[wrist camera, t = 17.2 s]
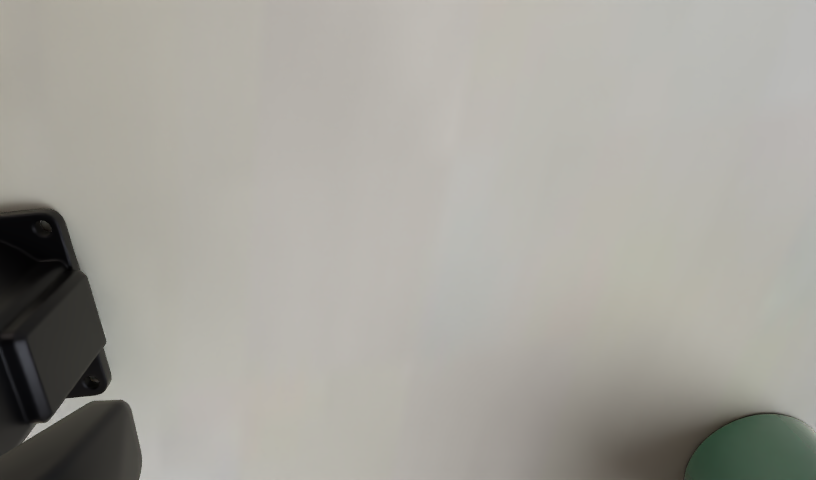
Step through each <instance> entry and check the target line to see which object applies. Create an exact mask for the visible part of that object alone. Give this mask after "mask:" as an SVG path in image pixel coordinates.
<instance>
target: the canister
mask: <svg viewBox="0 0 816 480" xmlns="http://www.w3.org/2000/svg"><path fill="white" fill-rule="evenodd" d="M684 480H816V432H815V431H814V430H813V429H812V428H810V427H809V426H808V425H807V424H805V423H804V422H802V421H800V420H798V419H795V418H793V417H789V416H785V415H780V414H758V415H752V416H748V417H744V418H741V419H738V420H735V421H733V422H731V423H729V424H727V425H725V426H723V427H721V428H720V429H718V430H717V431H715V432H714V433H712V434H711V435H710V436H709V437H708V438H706V439H705V440H704V441H703V442H702V443H701V444H700V446H699V447H698V448H697V449H696V451H695V452H694V453H693V455H692V457H691V459H690V460H689V463H688V465H687V468H686V472H685V478H684Z"/></svg>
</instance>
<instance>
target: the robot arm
mask: <svg viewBox="0 0 816 480" xmlns="http://www.w3.org/2000/svg"><path fill="white" fill-rule="evenodd" d="M40 220H41V221H46V222H47V223H49V224H50V226H51V228H52V232H50V231H46V230H44V229H43V228H42V226H41V224H40ZM105 344H106V339H105V335H104V332H103V328H102V325H101V322H100V318H99V315H98V312H97V308H96V305H95V302H94V298H93V295H92V292H91V288H90V285H89V282H88V278H87V276H86V275H85V274H84V273H83V272H81V271H80V269H79V266H78V263H77V259H76V256H75V253H74V249H73V246H72V243H71V239H70V236H69V233H68V229H67V226H66V223H65V221H64V219H63V217H62V216H61V215H60V214H59V213H58V212H56V211H54V210H52V209H34V210H24V211H14V212H4V213H0V480H139V477H140V473H141V467H142V455H141V449H140V445H139V441H138V436H137V432H136V428H135V423H134V419H133V414H132V411H131V408H130V406H129V404H128V403H126V402H125V401H123V400H106V401H93V402H90V403H88V404H86V405H84V406H83V407H81V408H79V409H78V410H76V411H74V412H73V413H71V414H69V415H68V416H66V417H65V418H63V419H61V420H60V421H58V422H56V423H55V424H53V425H51V426H50V427H48V428H46V429H45V430H43V431H41V432H40V433H38V434H36V435H35V436H33V437H32V438H30V439H28V440H27V441H25V442H23V441H24V440H25V438H26V437H27V436H28V434H29V433H30V432H31V430H32V429H33V428H34V427H35V425H36V424H37V423H46V422H48V421H49V420H50V419H51V417H52V416H53V415H54V413H55V412H56V411H57V409H58V408H59V407H60V405H61V404H62V402H63V401H64V400H65V398H74V397H84V396H94V395H98V394H101V393H103V392H104V391H105V390H106V388H107V387H108V385H109V384H110V382H111V372H110V369H109V365H108V362H107V359H106V355H105V352H104V349H103V347H104V345H105ZM89 376H94V377H95V378H97V379H98V380H99V382H94V381H92V380H91V379H90V378H89ZM22 442H23V443H22Z"/></svg>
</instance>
